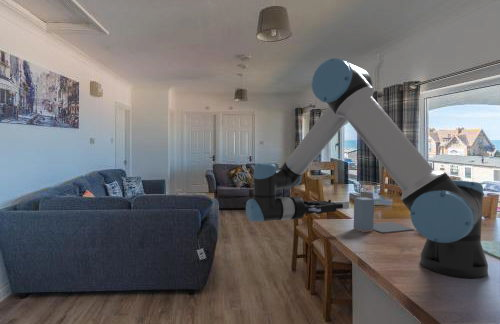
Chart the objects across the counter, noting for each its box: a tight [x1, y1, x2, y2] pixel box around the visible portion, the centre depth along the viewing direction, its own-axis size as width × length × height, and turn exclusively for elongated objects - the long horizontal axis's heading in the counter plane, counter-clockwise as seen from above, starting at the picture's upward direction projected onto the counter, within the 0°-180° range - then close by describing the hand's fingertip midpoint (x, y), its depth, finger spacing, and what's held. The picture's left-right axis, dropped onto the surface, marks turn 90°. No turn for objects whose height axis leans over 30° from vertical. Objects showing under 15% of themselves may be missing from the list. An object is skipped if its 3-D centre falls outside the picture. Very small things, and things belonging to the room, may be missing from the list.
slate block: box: [353, 196, 375, 233], centre depth 124 cm, size 5×5×12 cm
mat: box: [373, 221, 415, 234], centre depth 128 cm, size 15×12×1 cm
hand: (347, 204), depth 122 cm, fingers closed
